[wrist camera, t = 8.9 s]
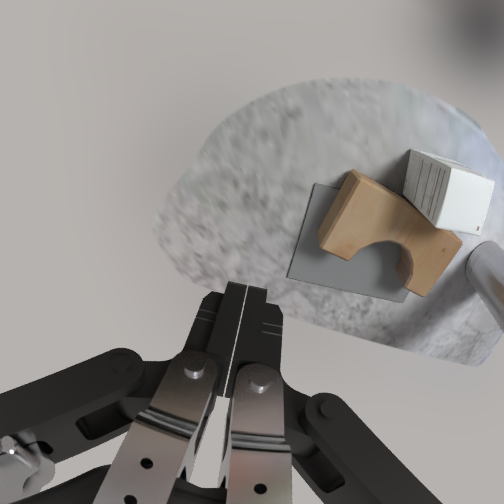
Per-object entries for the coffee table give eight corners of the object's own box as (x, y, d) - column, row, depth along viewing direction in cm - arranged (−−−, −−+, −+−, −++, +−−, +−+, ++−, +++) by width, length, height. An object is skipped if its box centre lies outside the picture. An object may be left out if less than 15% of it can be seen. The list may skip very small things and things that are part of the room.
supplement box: (449, 157, 34) (497, 181, 23) (439, 202, 38) (480, 239, 27) (409, 146, 35) (451, 166, 24) (400, 194, 38) (435, 229, 27)
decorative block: (315, 232, 43) (413, 280, 44) (318, 250, 38) (424, 299, 39) (350, 167, 37) (448, 227, 39) (359, 176, 32) (464, 243, 34)
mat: (440, 223, 39) (442, 224, 39) (402, 301, 47) (402, 302, 47) (315, 183, 39) (315, 183, 39) (287, 276, 47) (287, 277, 47)
